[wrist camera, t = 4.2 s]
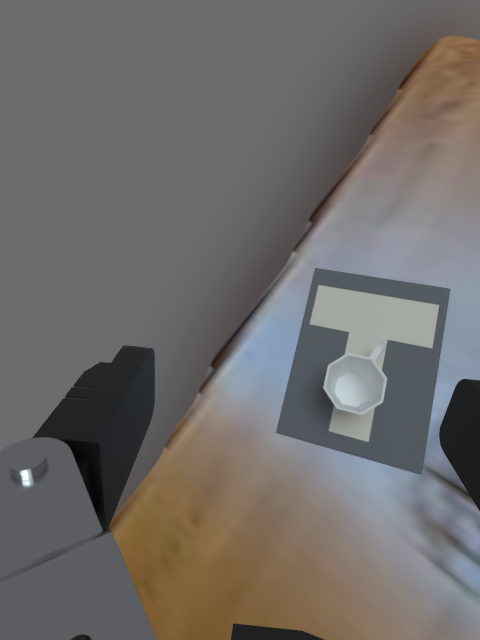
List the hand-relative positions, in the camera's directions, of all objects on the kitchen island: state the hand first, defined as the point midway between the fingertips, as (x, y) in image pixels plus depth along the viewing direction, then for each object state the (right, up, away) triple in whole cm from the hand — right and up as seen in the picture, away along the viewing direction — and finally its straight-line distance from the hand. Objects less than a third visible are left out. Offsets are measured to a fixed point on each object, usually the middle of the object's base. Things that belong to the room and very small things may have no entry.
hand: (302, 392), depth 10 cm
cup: (+14, -6, +40) cm, 43 cm away
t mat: (+15, -4, +41) cm, 44 cm away
